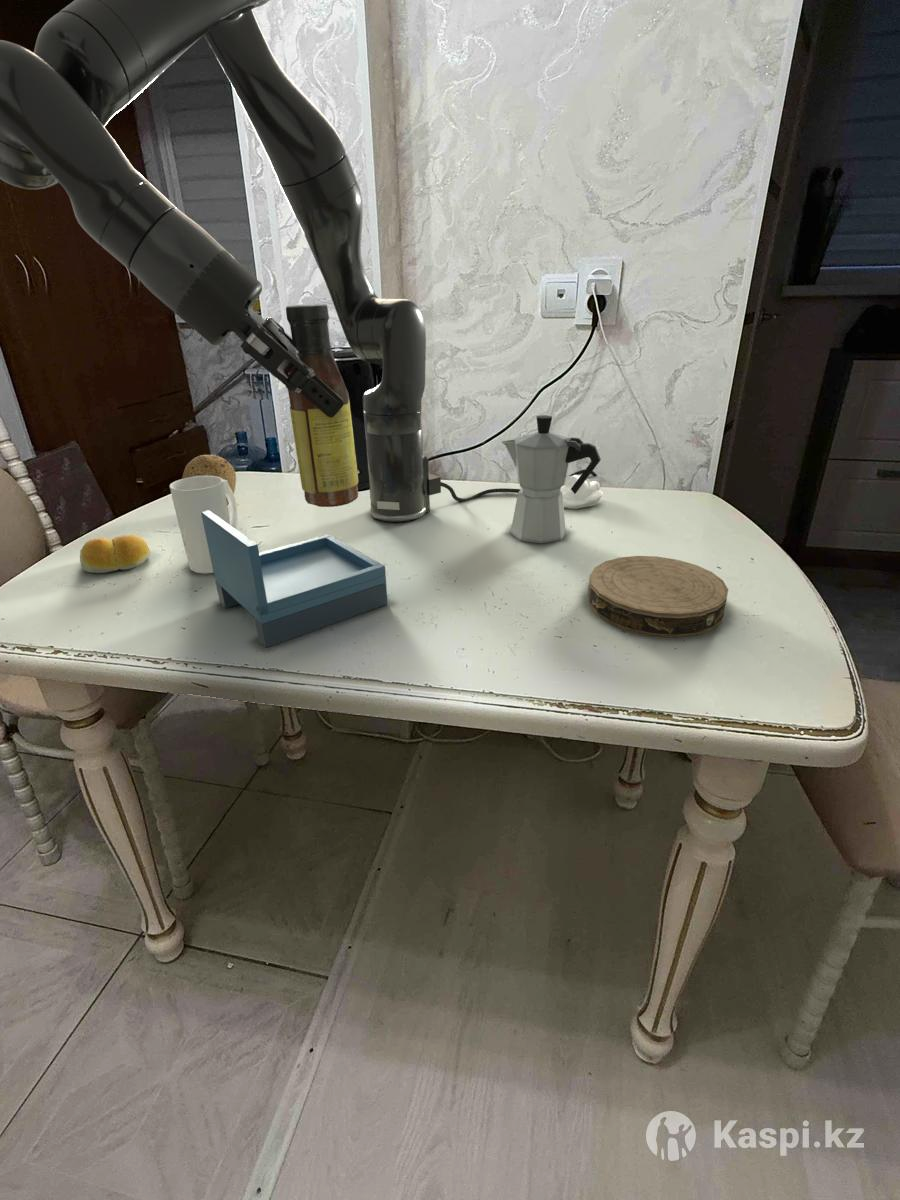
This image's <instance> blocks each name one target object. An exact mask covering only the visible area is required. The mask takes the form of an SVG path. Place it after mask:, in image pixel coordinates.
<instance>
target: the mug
mask: <svg viewBox="0 0 900 1200" xmlns="http://www.w3.org/2000/svg"><path fill="white" fill-rule="evenodd" d="M168 487H169V489H170V494H171V499H172V503H173V508H174V511H175V514H176V515H175V516H176V519H177V523H178V527H179V531H180V535H181V539H182V542H183V547H184V551H185V554H186V558H187V562H188V564H189V565H188V566H189V569H190V570H191V571H192V572H194V573H197V574H205V575H206V574H214V573H213V568H212V563H211V558H210V553H209V548H208V544H207V539H206V534H205V529H204V524H203V520H202V515H201V512H203V511H207V510H210V511H211V512H212V513H214V514H215V515H217V516H218V517H220V518H221V519H222V520H224V521H225V522H227V523H228V524H229V525H231V526H232V527H234V528H235V529H236V530H237V528H238V527H237V526H238V525H237V524H238V507H237V501H236V497H235V493H234V494H233V492H232V490H231V488H230V487H229V485H228V481H227V480H223V479H222V478H220V477H216V476H195V477H189V478H184V479H182V478H181V479H178V480H175V481H173V482H171V483H170V484H169V486H168ZM226 497H227V499H228V503H229V505H228V506H227V501H226Z"/></svg>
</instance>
